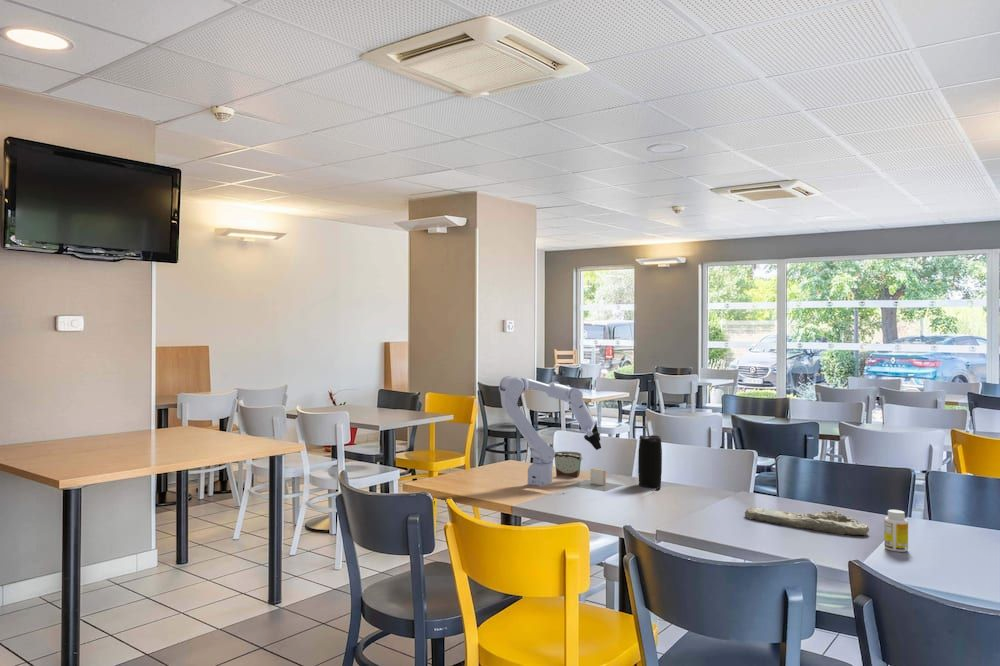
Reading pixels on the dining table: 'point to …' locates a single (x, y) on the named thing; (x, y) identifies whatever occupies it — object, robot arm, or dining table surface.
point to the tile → (598, 477)
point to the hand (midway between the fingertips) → (598, 444)
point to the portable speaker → (650, 461)
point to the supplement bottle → (896, 531)
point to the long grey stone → (811, 521)
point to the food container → (568, 463)
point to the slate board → (594, 485)
